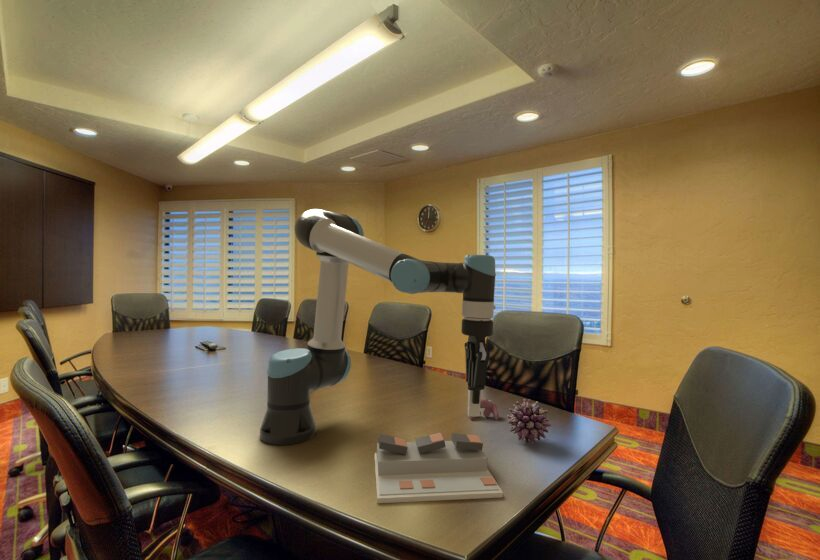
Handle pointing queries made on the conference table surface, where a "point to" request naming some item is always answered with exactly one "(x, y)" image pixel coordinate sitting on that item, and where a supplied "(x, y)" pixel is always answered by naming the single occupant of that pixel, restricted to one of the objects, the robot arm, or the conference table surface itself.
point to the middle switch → (430, 442)
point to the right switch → (466, 441)
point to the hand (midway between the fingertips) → (473, 415)
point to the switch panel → (433, 475)
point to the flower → (528, 421)
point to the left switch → (392, 444)
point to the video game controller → (487, 408)
